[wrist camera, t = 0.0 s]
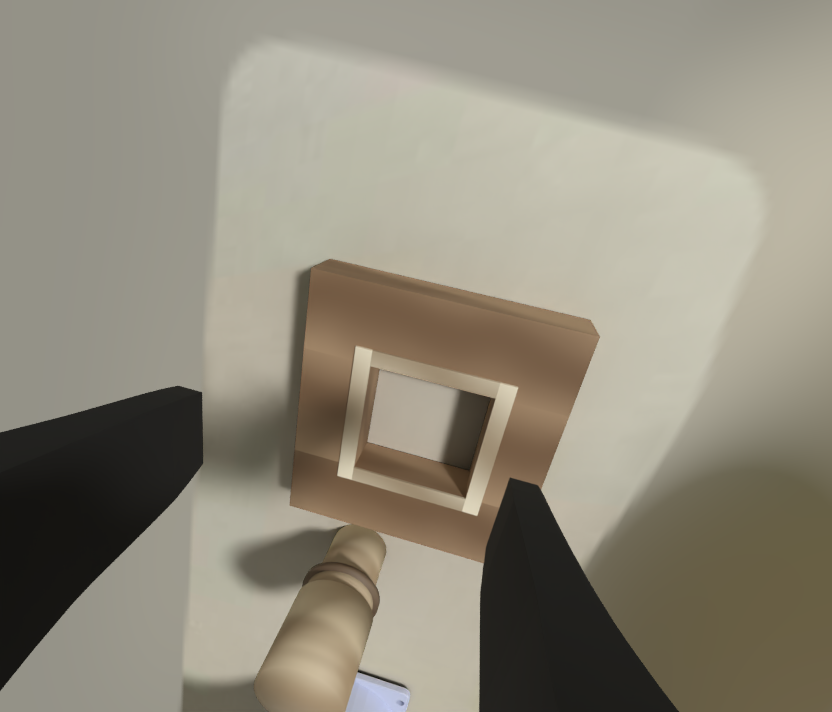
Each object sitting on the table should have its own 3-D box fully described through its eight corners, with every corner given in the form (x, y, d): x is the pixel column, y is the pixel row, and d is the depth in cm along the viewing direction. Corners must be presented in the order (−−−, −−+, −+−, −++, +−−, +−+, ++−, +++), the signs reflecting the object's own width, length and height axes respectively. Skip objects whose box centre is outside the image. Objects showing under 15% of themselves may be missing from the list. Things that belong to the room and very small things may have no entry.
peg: (388, 580, 25) (339, 743, 18) (323, 560, 26) (250, 712, 18) (399, 529, 24) (351, 686, 17) (330, 509, 24) (254, 654, 17)
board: (509, 538, 23) (509, 572, 21) (306, 479, 24) (288, 506, 22) (590, 320, 18) (600, 337, 16) (330, 258, 19) (310, 268, 17)
